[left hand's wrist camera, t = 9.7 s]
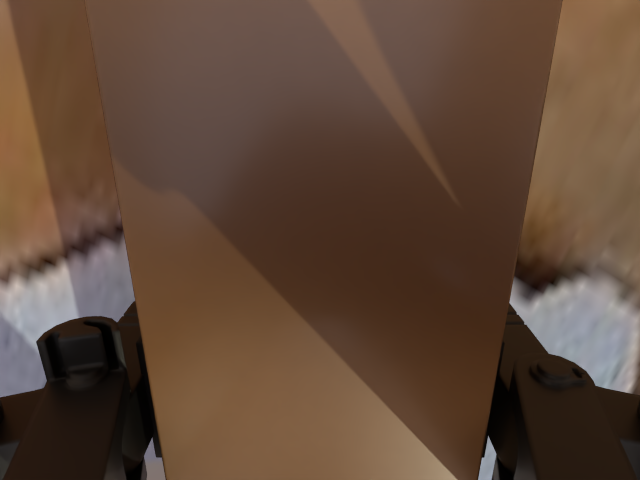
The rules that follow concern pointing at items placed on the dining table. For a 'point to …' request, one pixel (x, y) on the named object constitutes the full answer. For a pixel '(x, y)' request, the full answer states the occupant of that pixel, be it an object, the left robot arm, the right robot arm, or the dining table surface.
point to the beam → (322, 223)
